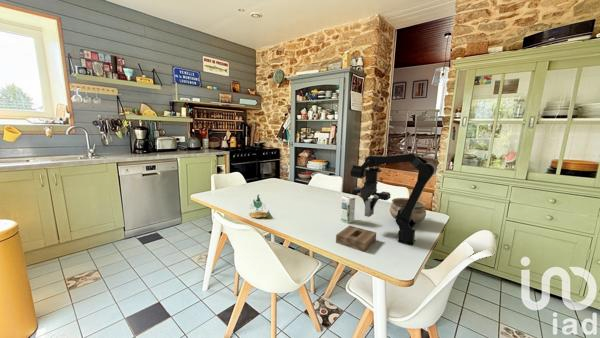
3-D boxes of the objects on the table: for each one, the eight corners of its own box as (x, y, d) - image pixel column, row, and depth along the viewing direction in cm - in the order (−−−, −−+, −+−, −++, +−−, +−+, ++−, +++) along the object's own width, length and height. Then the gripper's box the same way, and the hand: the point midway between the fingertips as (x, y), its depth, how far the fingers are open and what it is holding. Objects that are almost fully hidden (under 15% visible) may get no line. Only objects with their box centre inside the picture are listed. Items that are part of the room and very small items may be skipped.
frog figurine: (264, 222, 137) (261, 197, 135) (243, 218, 148) (241, 195, 146) (275, 217, 145) (273, 193, 143) (255, 214, 155) (252, 191, 154)
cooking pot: (418, 234, 122) (421, 211, 120) (382, 225, 134) (383, 204, 132) (429, 220, 141) (431, 200, 139) (396, 213, 153) (398, 194, 151)
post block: (375, 240, 115) (376, 232, 115) (364, 251, 105) (364, 243, 104) (349, 232, 124) (349, 225, 123) (335, 242, 113) (336, 234, 112)
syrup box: (340, 220, 140) (341, 196, 138) (346, 218, 144) (347, 195, 141) (348, 223, 136) (349, 199, 133) (354, 221, 139) (355, 197, 137)
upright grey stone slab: (373, 213, 126) (374, 199, 125) (369, 217, 121) (370, 201, 120) (369, 212, 128) (369, 198, 126) (364, 215, 123) (365, 200, 122)
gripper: (347, 180, 121) (345, 209, 123) (384, 185, 109) (382, 218, 112) (356, 176, 129) (355, 204, 132) (391, 181, 118) (389, 211, 121)
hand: (369, 209), depth 124 cm, fingers closed on upright grey stone slab, 2 cm apart
